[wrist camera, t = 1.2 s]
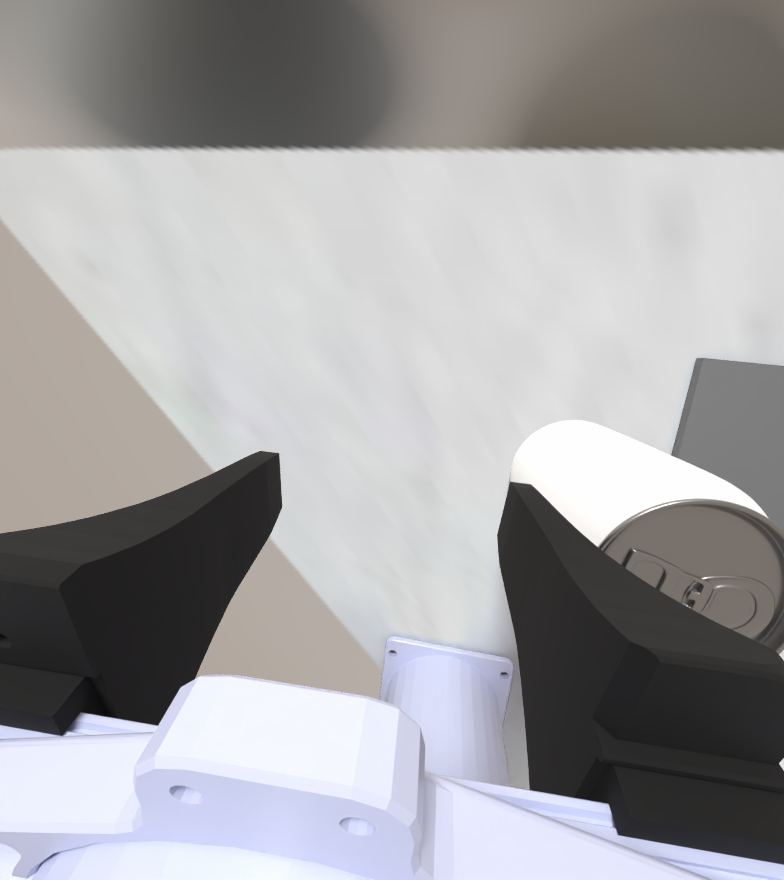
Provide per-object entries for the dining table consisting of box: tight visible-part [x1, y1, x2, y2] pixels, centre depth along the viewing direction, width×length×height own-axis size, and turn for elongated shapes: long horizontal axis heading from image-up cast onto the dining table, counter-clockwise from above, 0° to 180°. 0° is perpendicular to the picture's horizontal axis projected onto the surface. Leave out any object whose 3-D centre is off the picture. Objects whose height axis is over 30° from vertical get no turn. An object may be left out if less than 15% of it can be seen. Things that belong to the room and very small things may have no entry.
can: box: [510, 420, 784, 654], centre depth 17 cm, size 6×6×12 cm
